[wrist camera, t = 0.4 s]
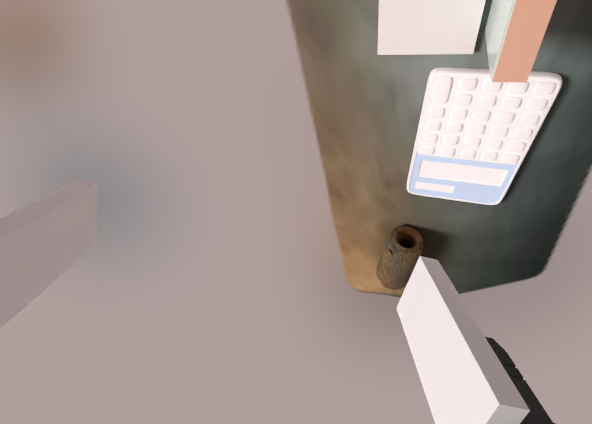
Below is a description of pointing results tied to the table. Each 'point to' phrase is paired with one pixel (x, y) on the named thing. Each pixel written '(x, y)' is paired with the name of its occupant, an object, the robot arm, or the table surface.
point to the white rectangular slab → (428, 26)
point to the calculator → (476, 132)
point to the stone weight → (399, 257)
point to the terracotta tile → (515, 37)
